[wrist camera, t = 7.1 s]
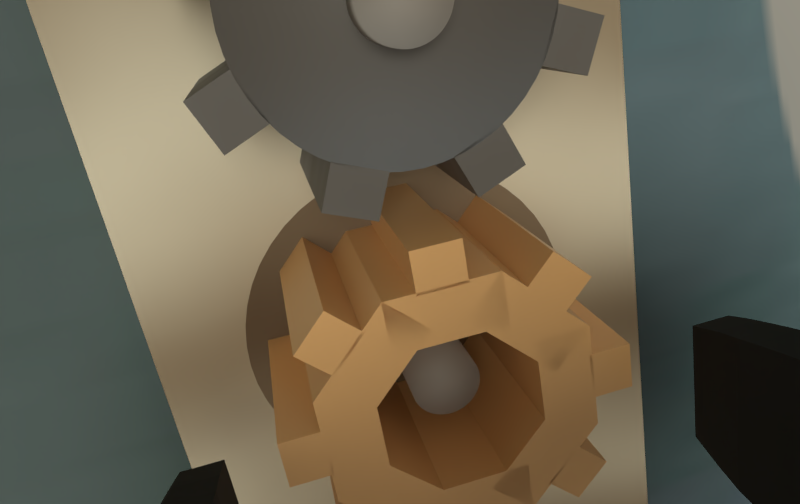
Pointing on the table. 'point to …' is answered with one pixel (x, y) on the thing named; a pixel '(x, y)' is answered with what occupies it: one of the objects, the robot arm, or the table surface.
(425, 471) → the orange gear
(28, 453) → the table surface
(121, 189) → the gear board
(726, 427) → the robot arm
